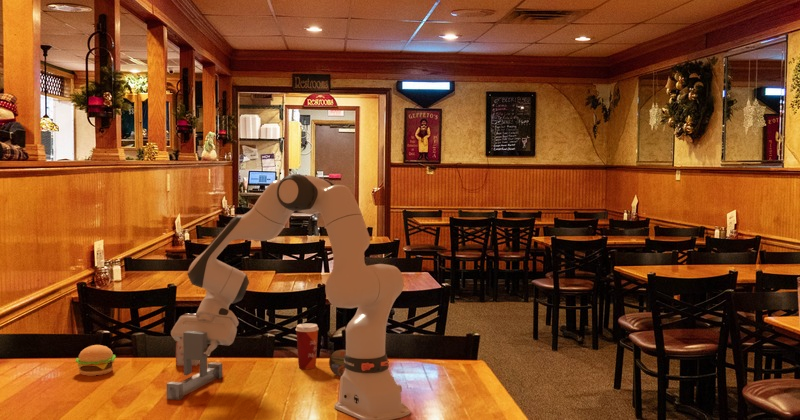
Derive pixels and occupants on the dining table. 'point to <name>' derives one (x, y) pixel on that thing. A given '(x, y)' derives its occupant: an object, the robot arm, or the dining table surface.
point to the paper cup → (307, 345)
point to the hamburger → (95, 360)
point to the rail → (193, 382)
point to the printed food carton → (182, 356)
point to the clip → (195, 351)
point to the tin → (337, 362)
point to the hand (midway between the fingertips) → (194, 353)
